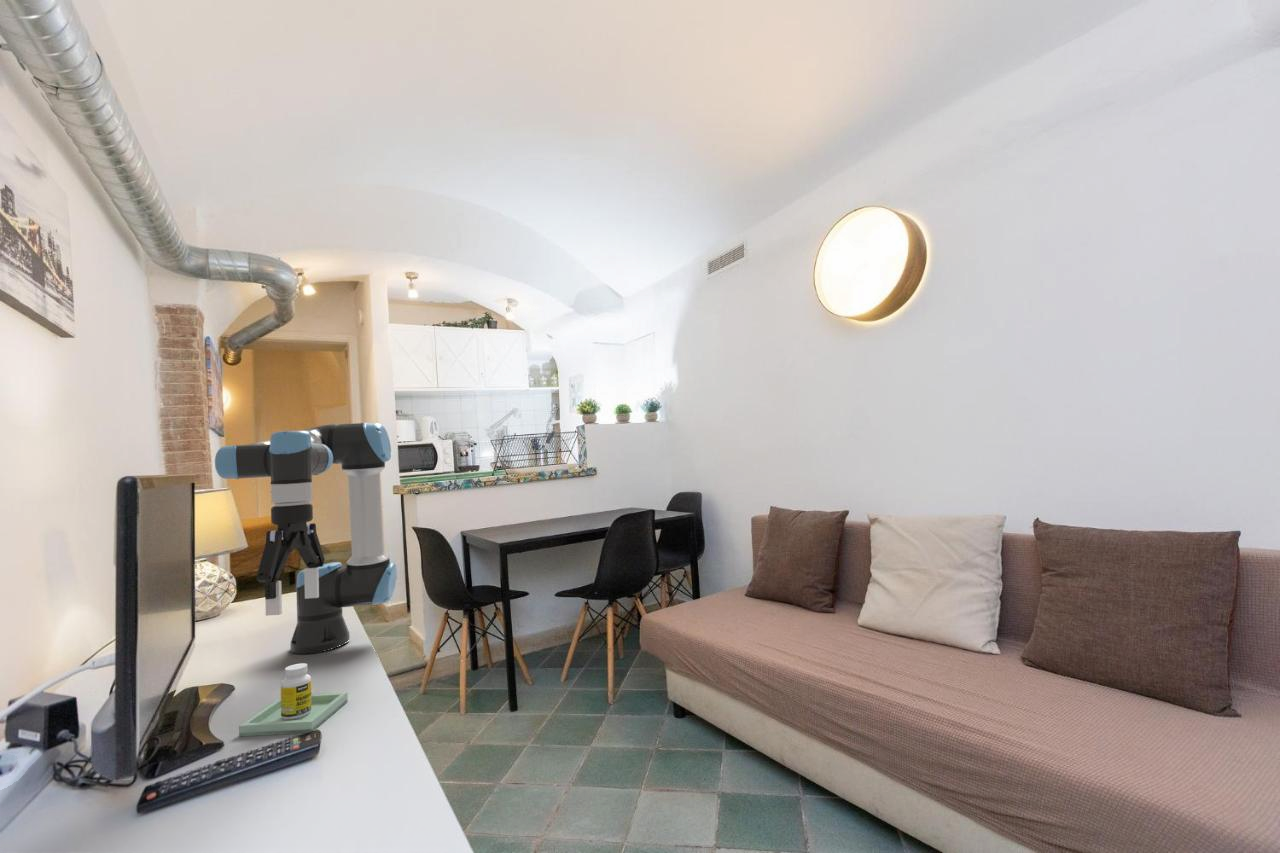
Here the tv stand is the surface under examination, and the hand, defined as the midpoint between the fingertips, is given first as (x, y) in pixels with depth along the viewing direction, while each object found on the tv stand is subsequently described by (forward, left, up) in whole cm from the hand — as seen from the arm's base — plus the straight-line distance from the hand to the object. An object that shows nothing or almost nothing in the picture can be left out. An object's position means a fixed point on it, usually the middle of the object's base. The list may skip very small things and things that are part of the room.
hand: (293, 606), depth 120 cm
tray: (+1, +1, -23) cm, 23 cm away
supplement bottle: (0, 0, -22) cm, 22 cm away
